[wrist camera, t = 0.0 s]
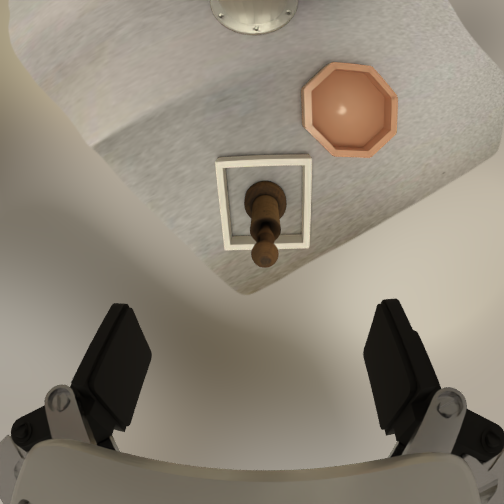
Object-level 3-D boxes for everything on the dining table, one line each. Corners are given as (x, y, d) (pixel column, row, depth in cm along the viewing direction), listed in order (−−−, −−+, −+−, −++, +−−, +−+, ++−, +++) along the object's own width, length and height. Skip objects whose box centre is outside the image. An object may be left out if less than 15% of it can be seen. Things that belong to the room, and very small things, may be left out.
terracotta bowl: (299, 63, 35) (302, 60, 32) (388, 71, 34) (397, 70, 31) (302, 151, 42) (305, 156, 39) (386, 154, 41) (394, 159, 38)
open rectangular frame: (218, 157, 43) (215, 162, 40) (308, 154, 42) (311, 158, 40) (226, 241, 51) (224, 250, 48) (307, 239, 50) (309, 248, 47)
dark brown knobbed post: (291, 187, 45) (304, 244, 30) (278, 222, 48) (283, 290, 33) (251, 175, 44) (243, 226, 29) (240, 211, 48) (227, 276, 32)
